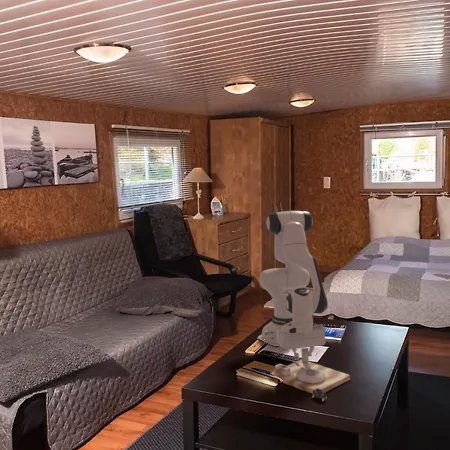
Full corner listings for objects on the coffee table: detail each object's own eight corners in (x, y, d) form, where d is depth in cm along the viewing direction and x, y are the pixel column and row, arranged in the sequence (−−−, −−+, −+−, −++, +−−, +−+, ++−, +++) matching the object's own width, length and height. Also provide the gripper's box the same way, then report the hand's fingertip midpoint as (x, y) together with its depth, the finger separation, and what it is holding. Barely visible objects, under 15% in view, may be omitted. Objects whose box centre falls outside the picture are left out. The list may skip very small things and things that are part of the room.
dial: (328, 382, 215) (328, 361, 214) (300, 384, 214) (299, 363, 213) (316, 364, 234) (316, 345, 233) (290, 366, 233) (289, 347, 232)
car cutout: (307, 400, 206) (307, 389, 205) (316, 394, 210) (316, 383, 210) (340, 412, 195) (340, 400, 195) (349, 405, 200) (349, 394, 200)
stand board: (269, 377, 227) (269, 364, 226) (301, 363, 242) (301, 351, 241) (318, 396, 208) (318, 381, 207) (349, 379, 223) (350, 366, 222)
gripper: (321, 321, 233) (321, 351, 235) (278, 326, 228) (278, 356, 230) (327, 325, 227) (327, 356, 229) (283, 330, 222) (283, 361, 224)
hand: (302, 356), depth 229 cm, fingers open, 5 cm apart
